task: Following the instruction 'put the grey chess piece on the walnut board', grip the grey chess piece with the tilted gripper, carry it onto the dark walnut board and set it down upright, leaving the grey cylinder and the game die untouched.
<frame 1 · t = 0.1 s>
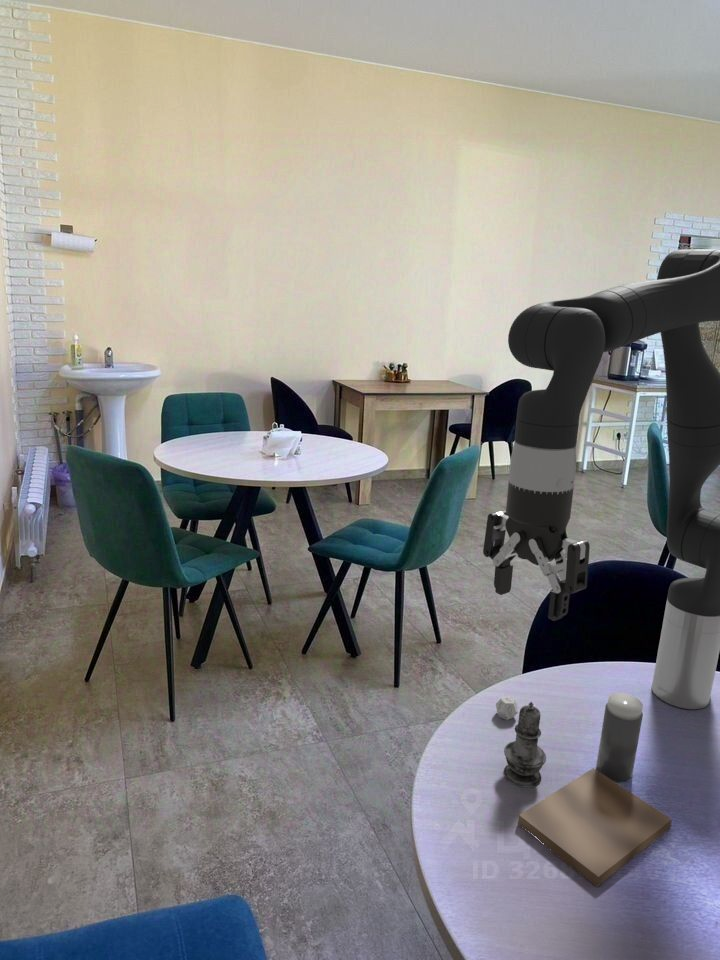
hand: (528, 605, 88), 29 cm above the table, tool pointing down, fingers open, 8 cm apart
grey chess piece: (522, 776, 102), on the table
walnut board: (594, 826, 92), on the table
grey cylinder: (614, 770, 103), on the table
game die: (506, 717, 115), on the table
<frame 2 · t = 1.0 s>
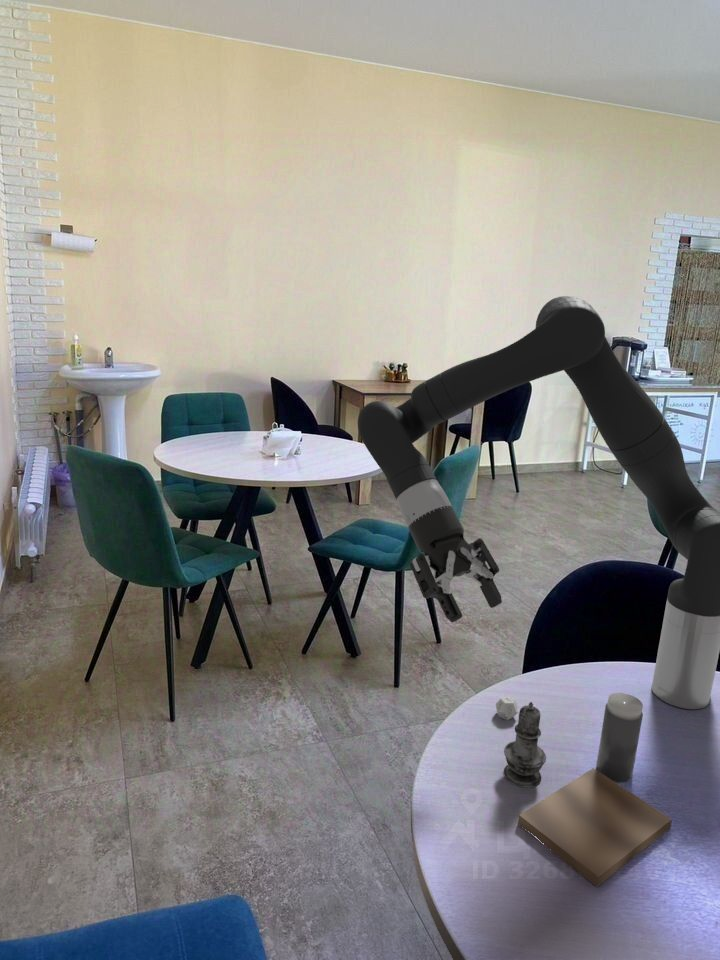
hand: (477, 612, 104), 21 cm above the table, tool tilted 45°, fingers open, 8 cm apart
nothing on the table moved.
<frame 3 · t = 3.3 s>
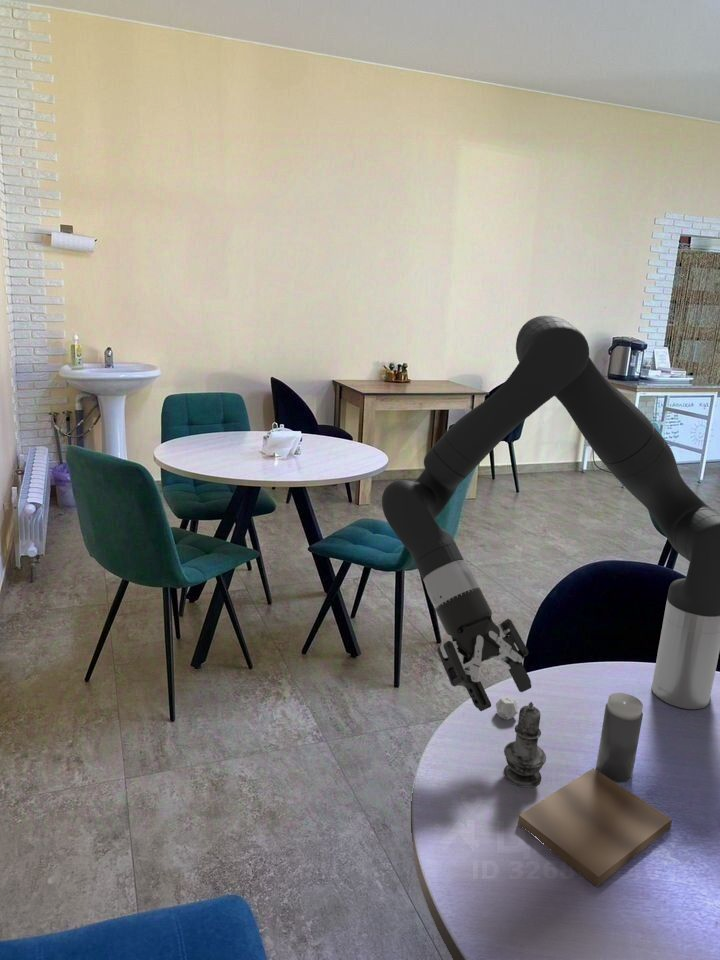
hand: (506, 699, 102), 10 cm above the table, tool tilted 45°, fingers open, 8 cm apart
nothing on the table moved.
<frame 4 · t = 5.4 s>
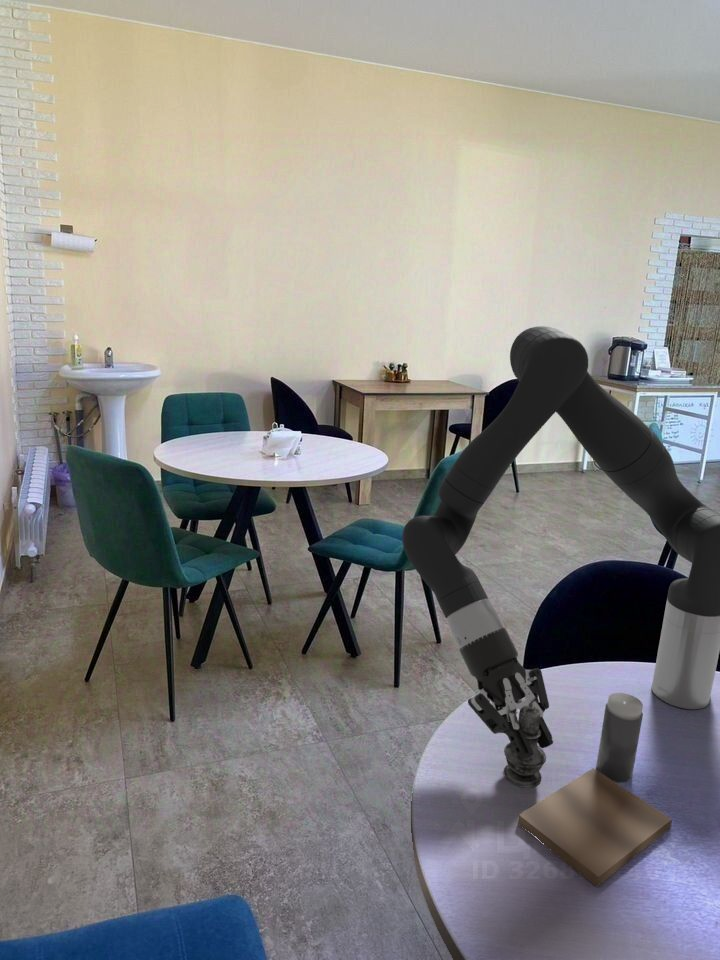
hand: (537, 751, 99), 5 cm above the table, tool tilted 45°, fingers closed on grey chess piece, 3 cm apart
grey chess piece: (522, 776, 102), on the table, touching gripper
everything else where it was.
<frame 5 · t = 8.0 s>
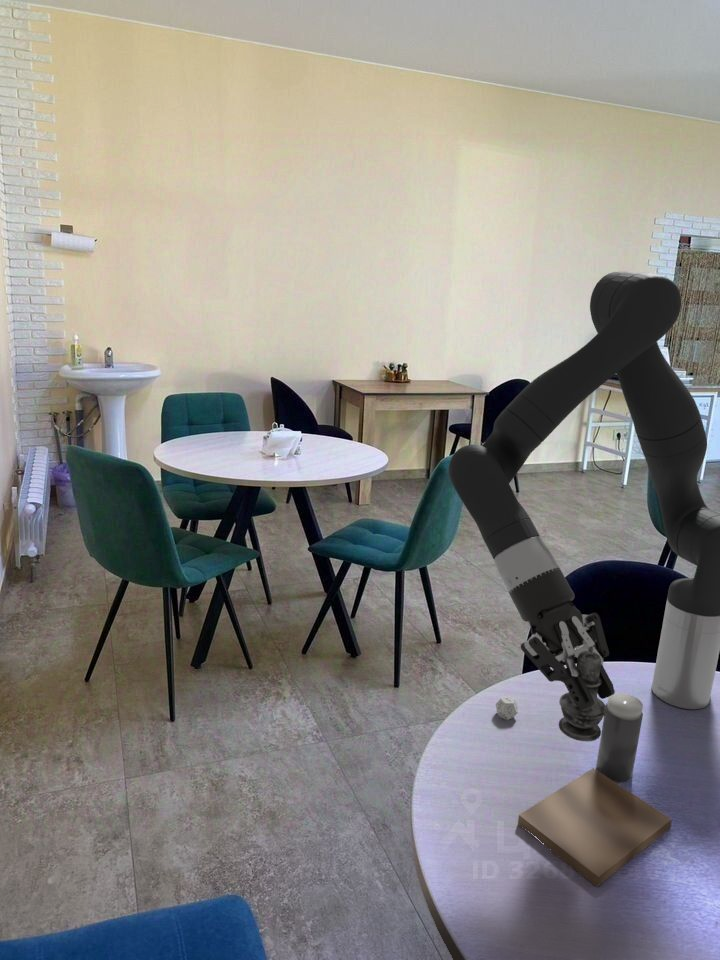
hand: (598, 701, 89), 18 cm above the table, tool tilted 45°, fingers closed on grey chess piece, 3 cm apart
grey chess piece: (579, 729, 92), point 12 cm above the table, touching gripper
everything else where it was.
when the fingers open (8 cm above the table, at t = 10.5 s): grey chess piece drops 1 cm, resting on walnut board.
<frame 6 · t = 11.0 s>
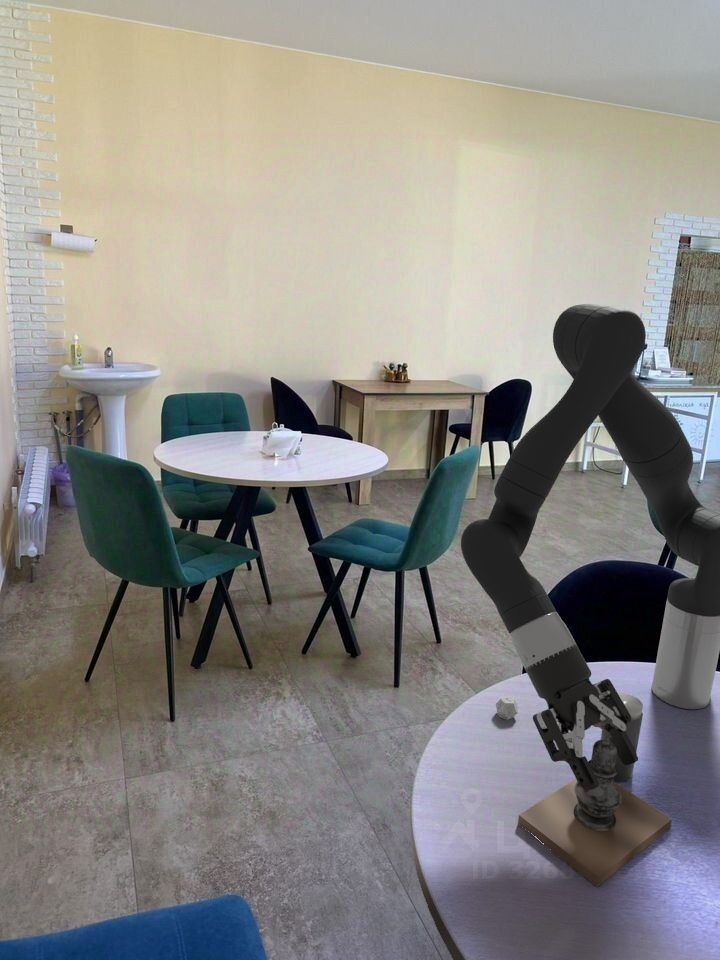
hand: (612, 775, 89), 9 cm above the table, tool tilted 45°, fingers open, 8 cm apart
grey chess piece: (594, 817, 92), point 1 cm above the table, touching walnut board
everything else where it was.
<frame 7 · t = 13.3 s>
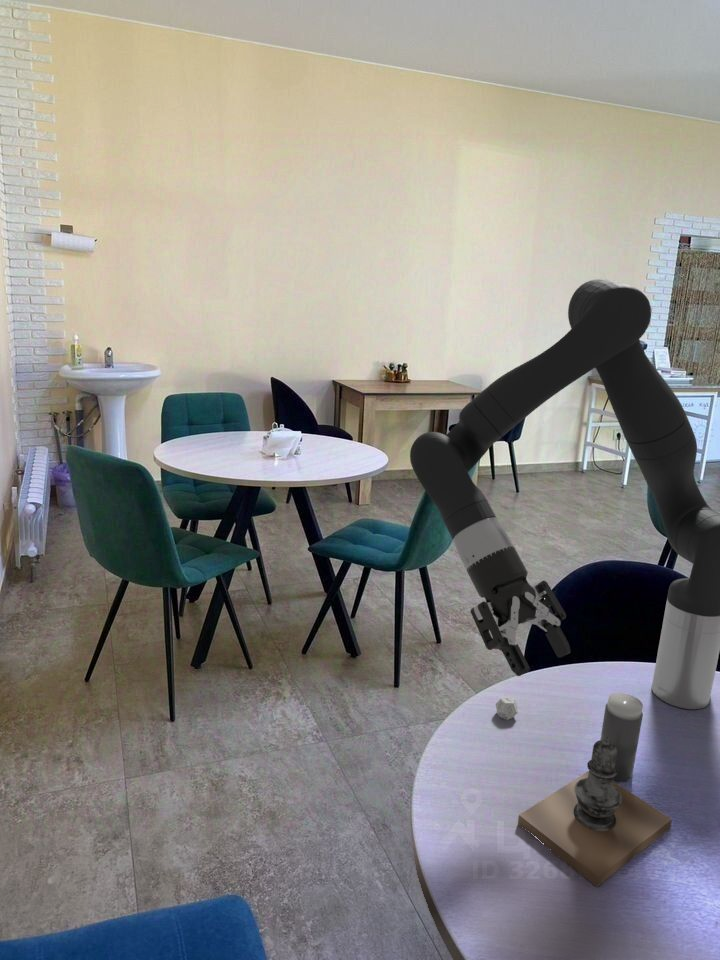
hand: (545, 664, 95), 19 cm above the table, tool tilted 45°, fingers open, 8 cm apart
nothing on the table moved.
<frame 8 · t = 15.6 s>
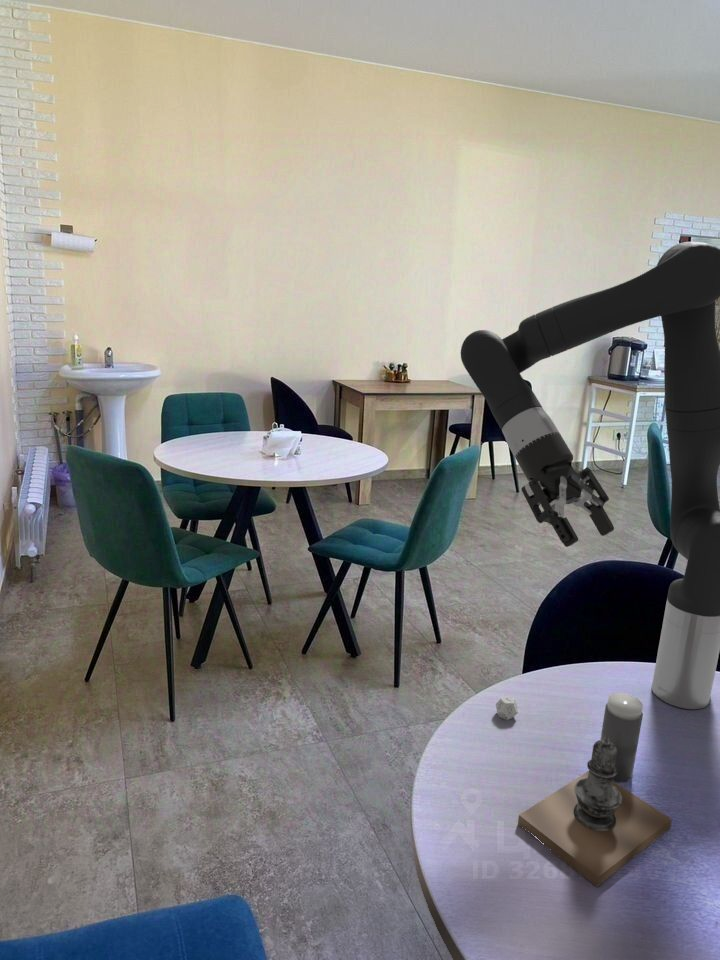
hand: (591, 538, 102), 33 cm above the table, tool tilted 45°, fingers open, 8 cm apart
nothing on the table moved.
at the end: grey chess piece inside the target area on the walnut board (0.2 cm from its centre), point 1.3 cm above the walnut board's base; grey chess piece tilted 0°; grey cylinder moved 0.0 cm from its start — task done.
